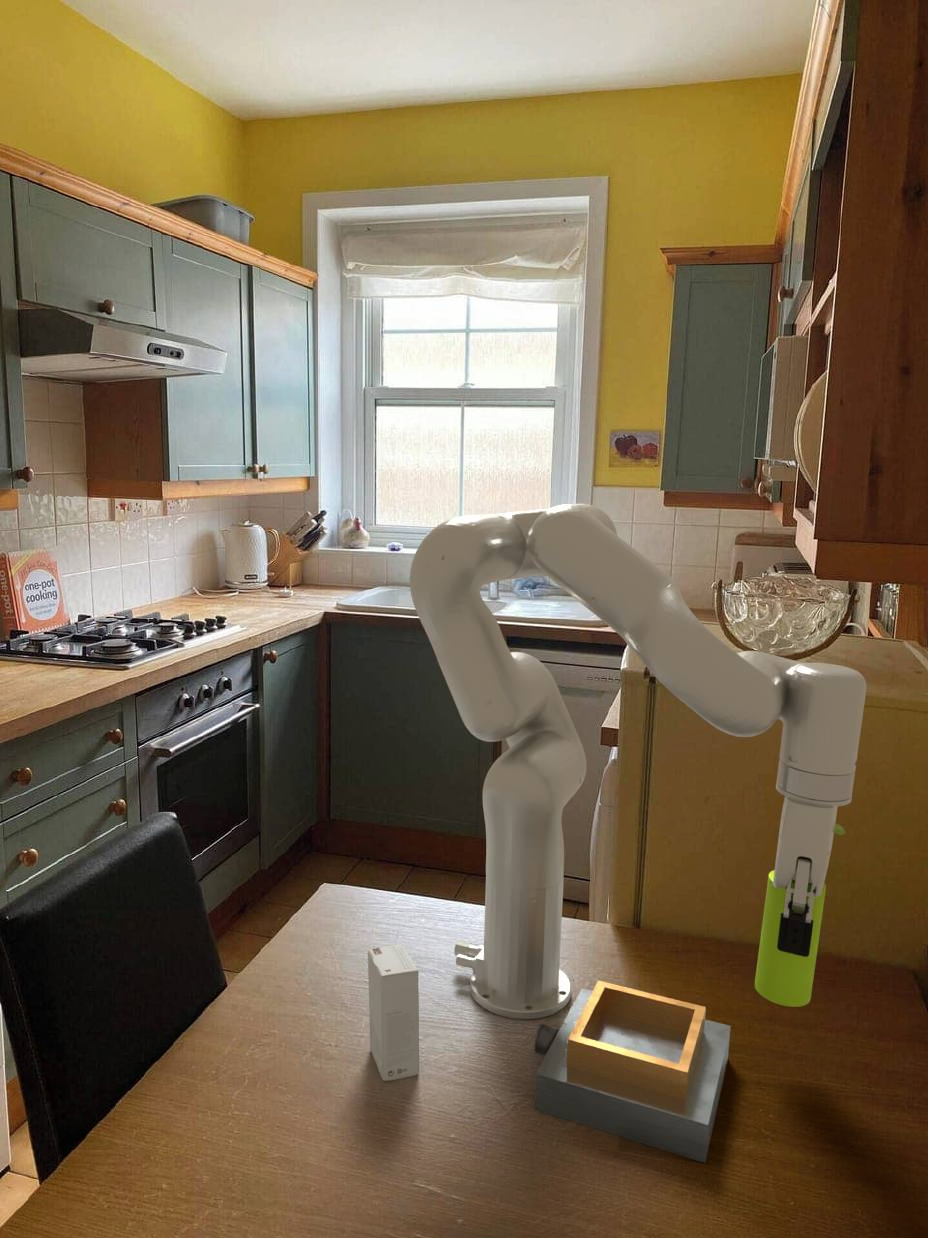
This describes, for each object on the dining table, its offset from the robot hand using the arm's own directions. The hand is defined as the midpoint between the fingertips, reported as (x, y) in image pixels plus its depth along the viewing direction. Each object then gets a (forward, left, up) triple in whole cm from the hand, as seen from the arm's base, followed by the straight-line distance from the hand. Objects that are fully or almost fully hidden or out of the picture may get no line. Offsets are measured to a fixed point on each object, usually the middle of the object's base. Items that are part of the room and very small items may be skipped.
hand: (794, 936), depth 97 cm
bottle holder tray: (-15, -11, -15) cm, 24 cm away
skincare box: (-39, -19, -15) cm, 46 cm away
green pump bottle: (0, 0, -7) cm, 7 cm away
